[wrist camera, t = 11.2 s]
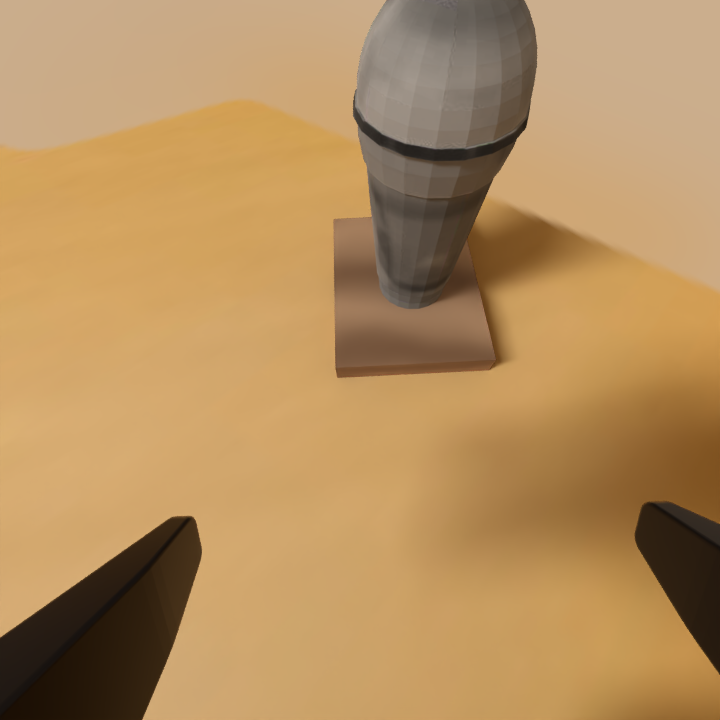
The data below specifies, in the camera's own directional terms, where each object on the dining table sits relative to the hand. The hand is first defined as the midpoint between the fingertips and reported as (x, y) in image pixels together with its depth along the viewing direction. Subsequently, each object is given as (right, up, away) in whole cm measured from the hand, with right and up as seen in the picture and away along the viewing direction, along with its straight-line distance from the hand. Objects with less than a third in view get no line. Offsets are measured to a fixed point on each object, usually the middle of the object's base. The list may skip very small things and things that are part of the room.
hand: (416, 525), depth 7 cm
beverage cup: (+2, +9, +18) cm, 20 cm away
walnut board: (+2, +8, +19) cm, 21 cm away
